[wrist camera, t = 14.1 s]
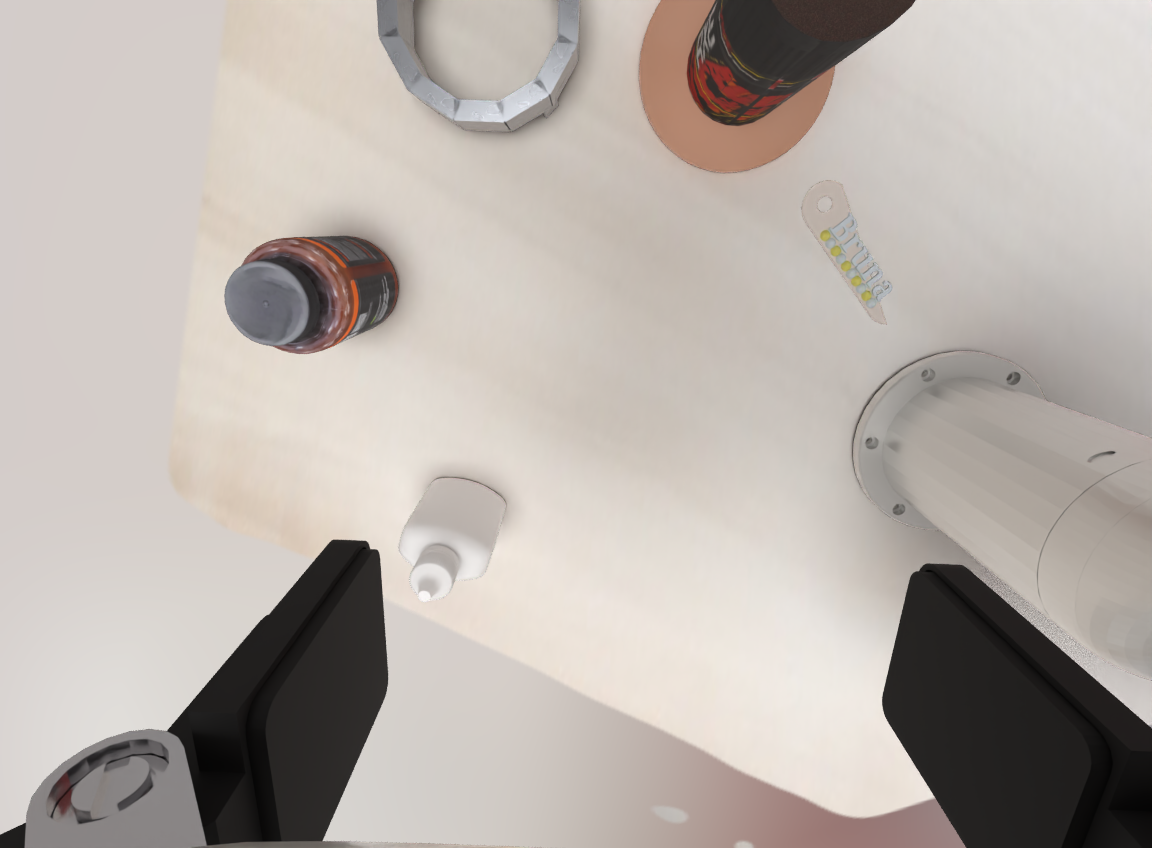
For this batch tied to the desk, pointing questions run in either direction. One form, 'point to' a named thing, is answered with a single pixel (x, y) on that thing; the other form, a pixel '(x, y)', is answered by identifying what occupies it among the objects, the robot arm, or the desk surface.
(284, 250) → the supplement bottle
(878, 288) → the keychain
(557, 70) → the ring stand
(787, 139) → the coaster
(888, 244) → the desk surface
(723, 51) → the deodorant
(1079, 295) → the desk surface
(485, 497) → the eye dropper bottle
